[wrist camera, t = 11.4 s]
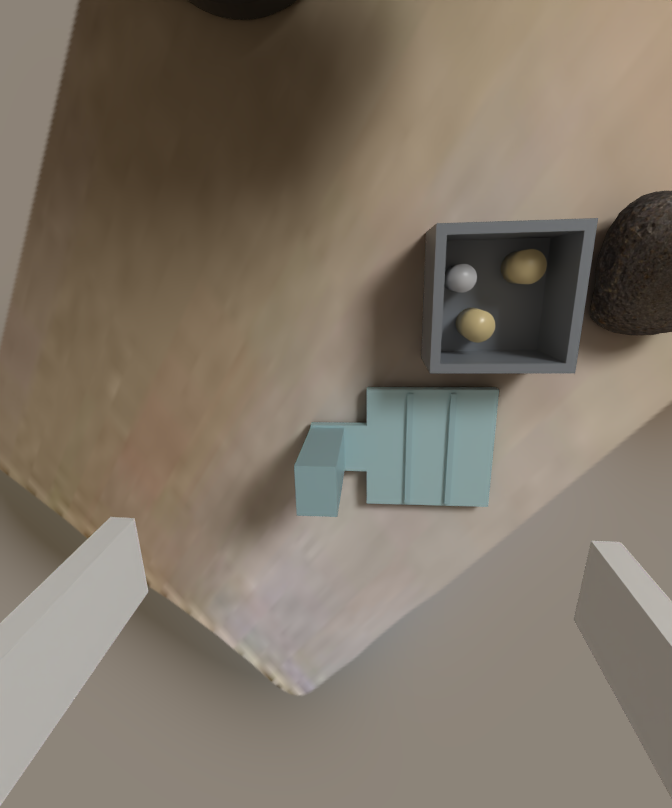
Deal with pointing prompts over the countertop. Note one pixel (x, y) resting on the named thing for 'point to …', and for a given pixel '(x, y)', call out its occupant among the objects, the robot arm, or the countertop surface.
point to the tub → (505, 295)
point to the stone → (636, 269)
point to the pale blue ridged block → (404, 450)
